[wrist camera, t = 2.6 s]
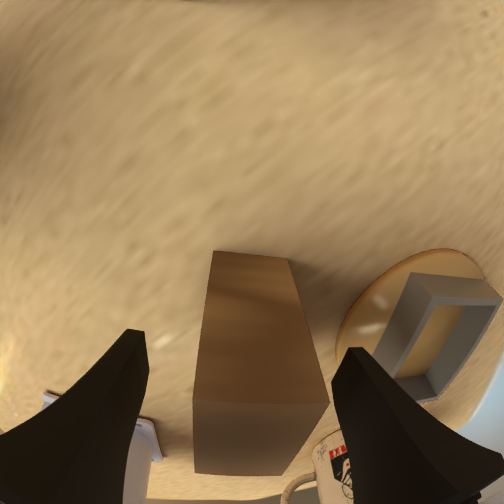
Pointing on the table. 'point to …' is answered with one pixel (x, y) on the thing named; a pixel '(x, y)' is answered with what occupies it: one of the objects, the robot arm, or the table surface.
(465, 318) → the grey open box
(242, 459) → the brown wooden block
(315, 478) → the teacup with lid
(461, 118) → the table surface
